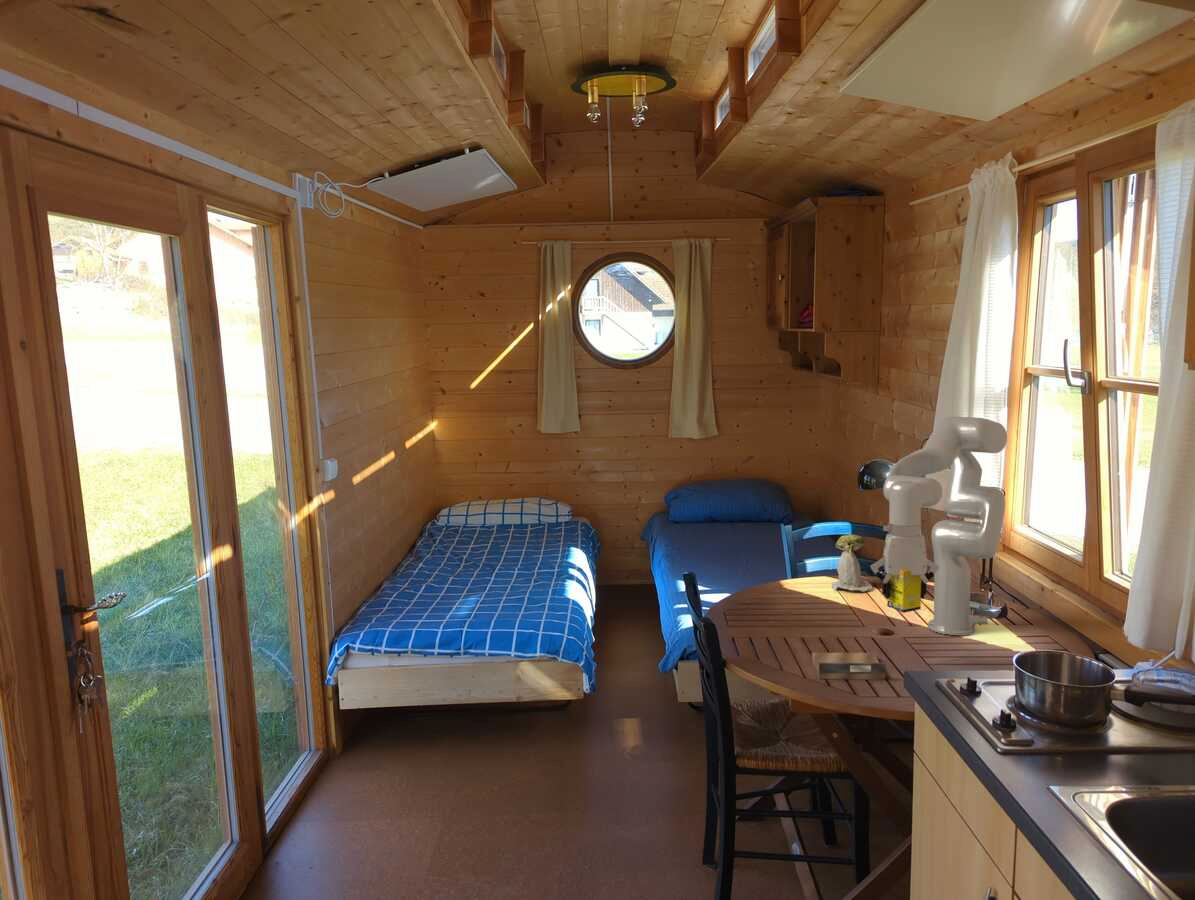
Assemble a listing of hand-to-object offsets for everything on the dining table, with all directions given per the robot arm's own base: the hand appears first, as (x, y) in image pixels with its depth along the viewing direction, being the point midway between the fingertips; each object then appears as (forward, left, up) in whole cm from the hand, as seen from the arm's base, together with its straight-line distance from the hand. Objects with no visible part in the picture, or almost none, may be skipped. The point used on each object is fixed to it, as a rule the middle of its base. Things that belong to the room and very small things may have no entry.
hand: (903, 596), depth 222 cm
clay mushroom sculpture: (+2, -67, -18) cm, 69 cm away
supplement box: (0, 0, -3) cm, 3 cm away
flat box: (+15, +3, -18) cm, 24 cm away
